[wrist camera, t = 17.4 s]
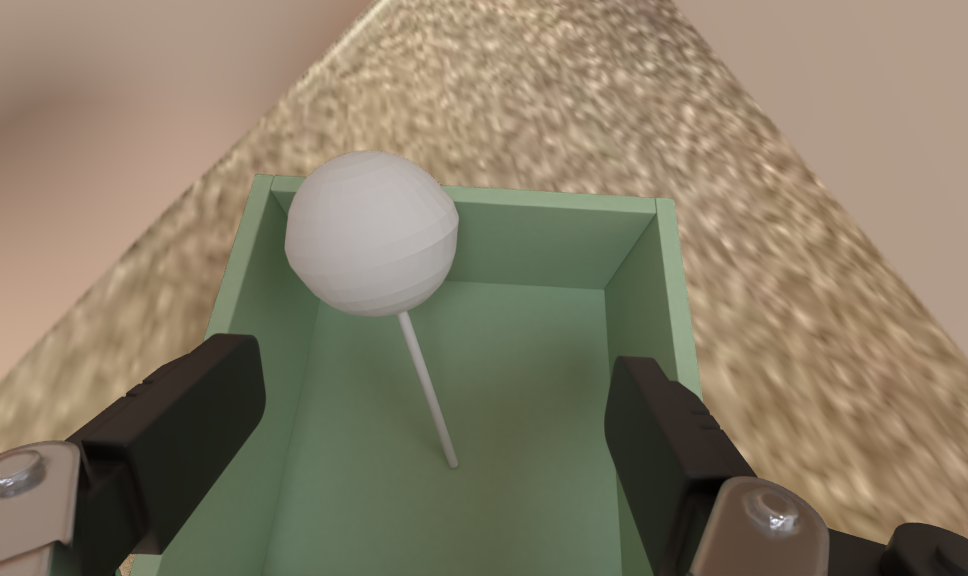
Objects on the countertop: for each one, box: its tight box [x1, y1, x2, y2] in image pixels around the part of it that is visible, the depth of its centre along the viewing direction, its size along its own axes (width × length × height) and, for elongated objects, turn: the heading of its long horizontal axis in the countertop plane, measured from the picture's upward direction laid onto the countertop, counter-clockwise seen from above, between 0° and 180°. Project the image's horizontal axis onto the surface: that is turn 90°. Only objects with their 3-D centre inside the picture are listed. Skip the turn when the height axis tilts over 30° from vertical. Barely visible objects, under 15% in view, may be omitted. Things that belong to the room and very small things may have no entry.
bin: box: [129, 174, 703, 576], centre depth 19 cm, size 18×20×9 cm
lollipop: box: [285, 151, 459, 468], centre depth 18 cm, size 6×6×15 cm
